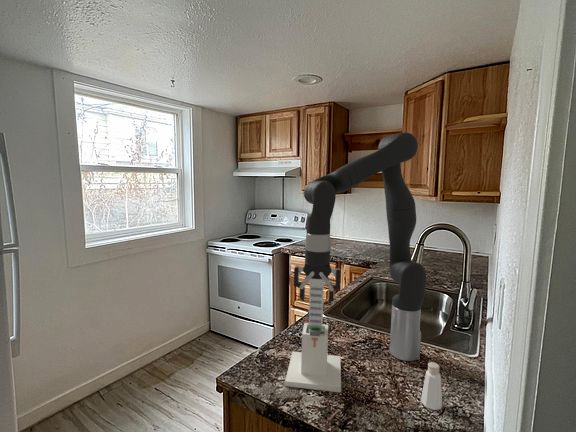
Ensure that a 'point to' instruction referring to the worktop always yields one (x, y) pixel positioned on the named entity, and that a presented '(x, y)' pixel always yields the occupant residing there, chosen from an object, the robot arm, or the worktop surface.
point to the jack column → (316, 304)
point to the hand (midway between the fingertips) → (316, 301)
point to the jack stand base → (314, 363)
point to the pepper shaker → (432, 388)
